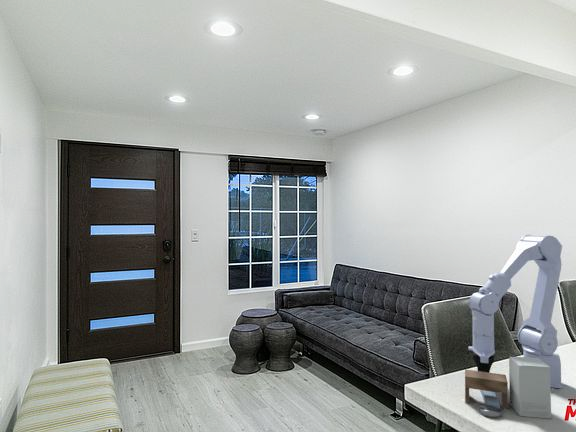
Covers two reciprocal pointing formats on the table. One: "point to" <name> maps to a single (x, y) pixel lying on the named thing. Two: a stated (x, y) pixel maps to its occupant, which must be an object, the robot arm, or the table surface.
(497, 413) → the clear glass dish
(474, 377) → the brown wooden arch
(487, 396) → the pale blue mallet
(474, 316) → the robot arm
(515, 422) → the table surface
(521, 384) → the supplement box
